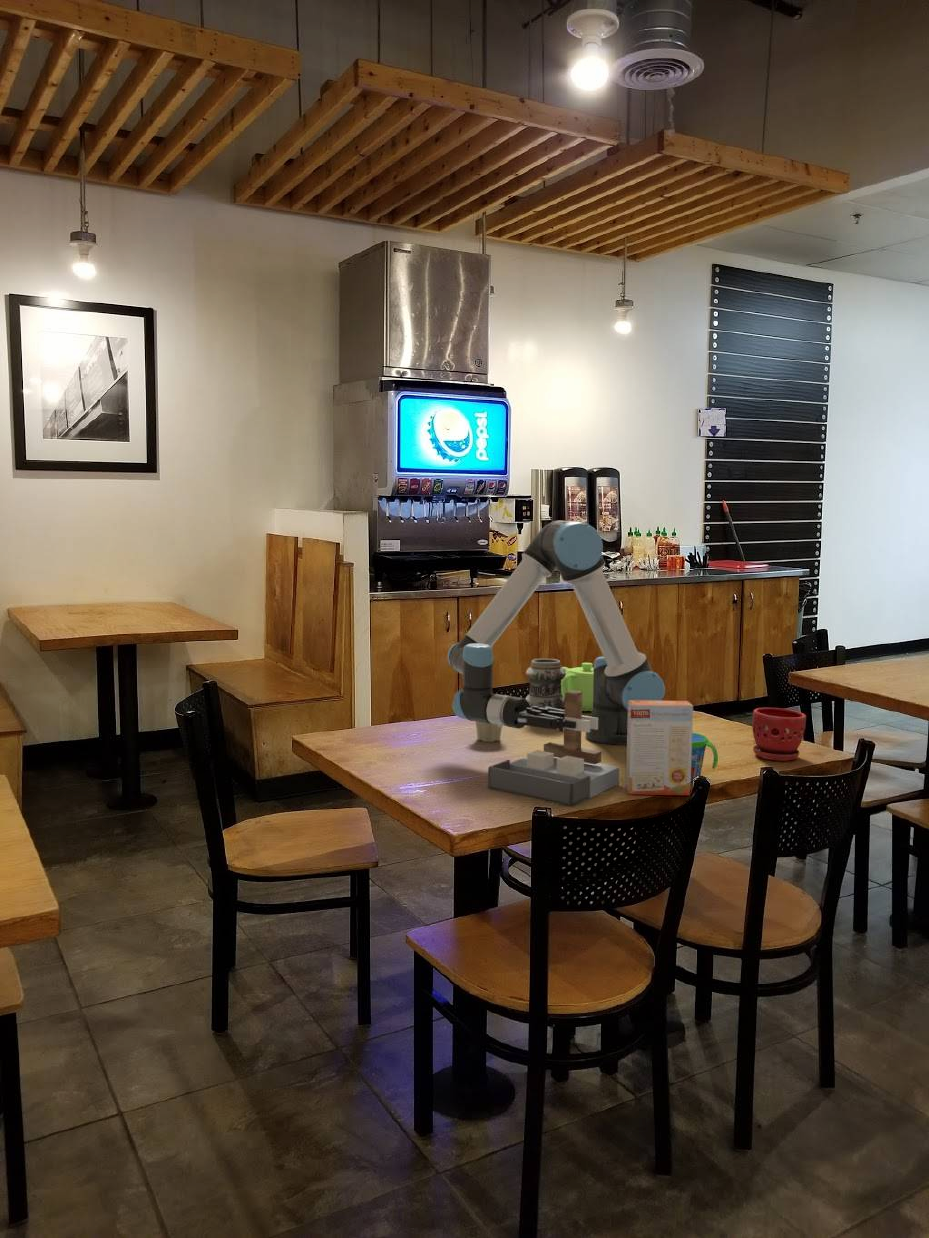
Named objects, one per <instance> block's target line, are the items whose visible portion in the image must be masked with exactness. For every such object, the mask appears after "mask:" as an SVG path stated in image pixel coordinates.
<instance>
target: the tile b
mask: <svg viewBox="0 0 929 1238" xmlns="http://www.w3.org/2000/svg"><path fill="white" fill-rule="evenodd" d="M581 772H584V759H582V758H577V757H572V756H565V757H562V758H560V759H557V773H562V774H567V775H572V776H575V775H577V774H579V773H581Z"/></svg>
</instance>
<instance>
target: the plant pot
mask: <svg viewBox="0 0 929 1238" xmlns="http://www.w3.org/2000/svg"><path fill="white" fill-rule="evenodd" d="M751 722H752V723H751V724H752V725H751V726H752V735H753V739H754V741H755V744H756V745H754V746H753V747H752V751H753V752H754V754H755V755H756V756H758V757H760V758H762V759H763V760H771V761H781V762H784V761H785V762H787V761H791V760H795V759H797V758H798V757H799V755H800V750H798V748H799V747H800V746H801V743H802V742H803V738H804V734H805V729H806V723H807V715H806V714H805V713H803V712H800V711H797V710H793V709H792V710H791V709H787V708H779V707H757V708H755V709H754V710H753V712H752V721H751ZM766 726H767V728H768V729H766ZM787 729H788V731H787Z"/></svg>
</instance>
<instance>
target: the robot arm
mask: <svg viewBox="0 0 929 1238" xmlns="http://www.w3.org/2000/svg"><path fill="white" fill-rule="evenodd" d="M603 549H604V545H603V540H602V537H601V535H600V533H599V532H598V531H597V530H596V528H595V527H594V526H592V525H590V524H588V523H585V522H584V521H579V520H571V521H570V520H569V521H568V520H553V521H551V522H549V523H547V524H546V525H545V526H543V528H542V529H541V530H540V531H538V533H537V534H536V535H535V537H534V538H533V540H531V542H530V543H529V545H528V546H527V547H526V548H525V550H524V551H523V553H521V558H522V559H521V561H520V562H519V564H518V565H517V567H516V568H515V569H514V571H513V572H512V573H511V575H510V576H509V577H508V578H507V580H506V581H505V582H504V584H503V585H502V586H501V588H500V589H499V591H498V592H497V593H496V594H495V595H494V597H493V598H492V599H491V601H490V602H489V603H488V605H487V606H486V608H485V609H484V610H483V611H482V613H481V614H480V615H479V616H478V618H477V619H476V621H475V622H474V623H473V625H472V626H471V627H470V628H469V630H468V631H467V633H466V634H465V635H464V636H463V637H462V639H461V640H460V641H459V642H456V643H454V644H452V645H451V646H450V648H449V649H448V650H447V658H446V659H447V663H448V664H449V666H450V667H452V669H453V670H454V671H455V672H458V673H459V674H461V675H462V688H461V689H459V690H458V691H457V692H456V693H454V696H453V697H454V698H453V700H452V710H453V713H454V715H455V716H456V717H458V718H460V719H464V720H468V721H469V722H476V721H477V722H484V723H490V724H497V725H498V727H501V725H502V727H507V728H513V729H517V730H519V729H523V728H524V727H526V726H527V727H534V728H541V729H549V730H553V731H554V730H555V731H556V730H558V732H560V733H562V732H563V733H564V729H570V730H576V731H581V733H585V739H587V740H589V741H592V742H595V743H598V744H599V743H601V744H607V745H608V744H609V745H627V722H628V701H629V700H648V701H663V698H664V697H665V692H666V687H665V682H664V680H663V678H661V676H660V675H659V674H658V673H657V672H654V671H653V669H652V667H651V665H650V662H649V660H648V658H647V656H646V654H644V653H642V652H639V651H638V650H637V647H636V645H635V643H634V640H633V637H632V636H631V633H630V631H629V629H628V627H627V624H626V622H625V620H624V617H623V615H622V613H621V611H620V609H619V606H618V603H617V602H616V599H615V597H614V595H613V592H612V590H611V587H610V586H609V583H608V581H607V578H606V577H605V574H604V571H603V570H604V568H605V565H606V561H605V559H604V556H603ZM557 569H558V572H559V574H560V576H561V579H562V581H563V582H564V583H567V584H570V585H571V587H572V590H573V591H574V593H575V595H576V598H577V600H578V602H579V604H580V607H581V609H582V611H583V614H584V615H585V618H586V620H587V622H588V625H589V627H590V630H591V631H592V633H593V636H594V639H595V640H596V642H597V645H598V646H599V647H598V648H599V649H600V652H601V654H602V656H598V657H596V658H595V660H594V662H593V667H592V668H593V671H594V678H593V711H591V714H590V716H588V715H583V714H582V719H577V718H571V717H565V720H564V710H565V709H562V708H560V709H556V708H552V707H549V706H545V707H544V708H540V707H539V706H532V708H531V707H530V705H529V703H528V701H527V700H526V698H524V697H518V696H510V695H506V694H498V693H493V682H494V680H493V677H494V671H493V670H494V653H493V652H494V651H493V646H494V645H495V643H496V642H497V641H498V639H499V638H500V637H501V636H502V634H503V633H504V632H505V630H506V629H507V628H508V626H509V625H511V623H512V621H513V620H514V619H515V618H516V617H517V615H518V613H519V612H520V610H521V609H522V608H523V607H524V605H526V603H527V602H528V601H529V599H530V598H531V596H532V595H533V593H534V592H535V591H536V590H537V588H538V587H539V586H540V585H541V583H542V582H543V581H544V579H545V578H549V577H551V576H552V575H553V574H554V573H555V571H556V570H557Z"/></svg>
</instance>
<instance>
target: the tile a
mask: <svg viewBox="0 0 929 1238" xmlns="http://www.w3.org/2000/svg"><path fill="white" fill-rule="evenodd" d="M526 757H527V767H532V768H537V769H542V770H544V769H547V768H549V767H552V766H554V753H550V752H545V751H544V750H534V751H532V752H528V753H527V755H526Z"/></svg>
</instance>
